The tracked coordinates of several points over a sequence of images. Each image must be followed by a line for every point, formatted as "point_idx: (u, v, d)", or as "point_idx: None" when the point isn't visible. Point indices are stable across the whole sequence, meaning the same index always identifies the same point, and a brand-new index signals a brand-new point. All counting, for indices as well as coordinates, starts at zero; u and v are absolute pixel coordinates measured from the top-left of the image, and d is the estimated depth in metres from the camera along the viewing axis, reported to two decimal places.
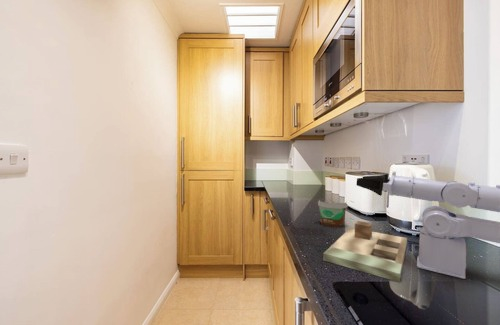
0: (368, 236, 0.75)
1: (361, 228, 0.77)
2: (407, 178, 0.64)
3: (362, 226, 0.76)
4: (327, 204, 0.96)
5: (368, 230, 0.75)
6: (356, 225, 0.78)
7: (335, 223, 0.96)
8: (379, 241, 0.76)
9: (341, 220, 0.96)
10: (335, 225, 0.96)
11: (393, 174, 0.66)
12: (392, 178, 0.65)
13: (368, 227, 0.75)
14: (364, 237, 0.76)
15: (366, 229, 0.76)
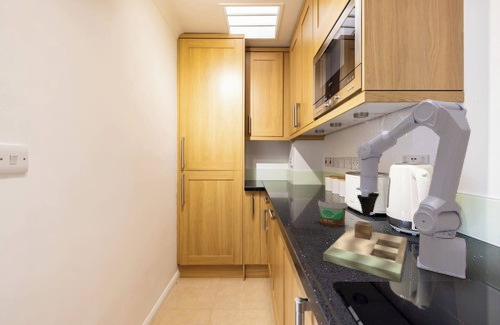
0: (368, 236, 0.75)
1: (361, 228, 0.77)
2: (360, 180, 0.84)
3: (362, 226, 0.76)
4: (327, 204, 0.96)
5: (368, 230, 0.75)
6: (356, 225, 0.78)
7: (335, 223, 0.96)
8: (379, 241, 0.76)
9: (341, 220, 0.96)
10: (335, 225, 0.96)
11: (358, 189, 0.85)
12: (360, 189, 0.83)
13: (368, 227, 0.75)
14: (364, 237, 0.76)
15: (366, 229, 0.76)
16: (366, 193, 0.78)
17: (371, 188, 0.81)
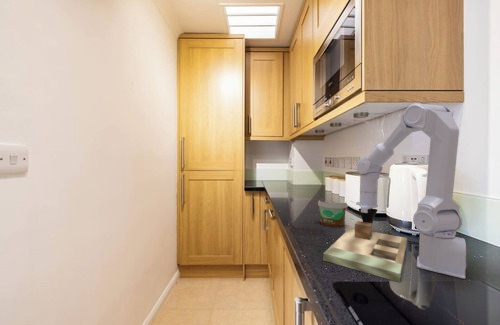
0: (368, 236, 0.75)
1: (361, 228, 0.77)
2: (360, 195, 0.85)
3: (362, 226, 0.76)
4: (327, 204, 0.96)
5: (368, 230, 0.75)
6: (356, 225, 0.78)
7: (335, 223, 0.96)
8: (379, 241, 0.76)
9: (341, 220, 0.96)
10: (335, 225, 0.96)
11: (358, 203, 0.85)
12: (359, 205, 0.83)
13: (368, 227, 0.75)
14: (364, 237, 0.76)
15: (366, 229, 0.76)
16: (366, 209, 0.78)
17: (371, 204, 0.81)
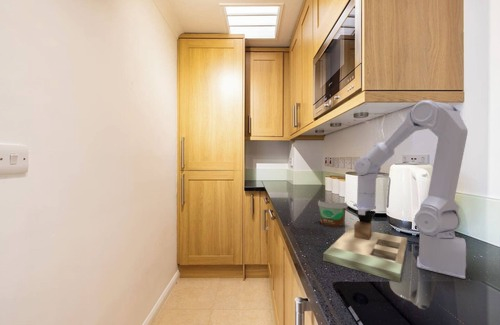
0: (368, 236, 0.75)
1: (361, 228, 0.76)
2: (357, 196, 0.81)
3: (362, 226, 0.76)
4: (327, 204, 0.96)
5: (368, 230, 0.75)
6: (356, 225, 0.77)
7: (335, 223, 0.96)
8: (379, 241, 0.76)
9: (341, 220, 0.96)
10: (335, 225, 0.96)
11: (355, 205, 0.82)
12: (357, 206, 0.80)
13: (368, 227, 0.75)
14: (364, 237, 0.76)
15: (366, 229, 0.75)
16: (363, 211, 0.75)
17: (368, 205, 0.78)
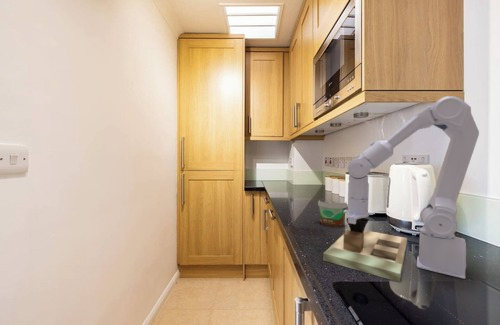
0: (359, 248, 0.65)
1: (351, 239, 0.66)
2: (348, 201, 0.71)
3: (352, 237, 0.66)
4: (327, 204, 0.96)
5: (359, 241, 0.65)
6: (345, 235, 0.67)
7: (335, 223, 0.96)
8: (379, 241, 0.76)
9: (341, 220, 0.96)
10: (335, 225, 0.96)
11: (345, 212, 0.72)
12: (347, 213, 0.70)
13: (359, 238, 0.65)
14: (354, 250, 0.66)
15: (356, 240, 0.65)
16: (353, 220, 0.65)
17: (360, 212, 0.68)
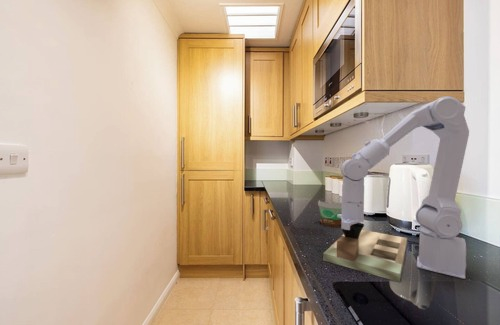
0: (353, 257, 0.60)
1: (344, 246, 0.61)
2: (342, 205, 0.66)
3: (346, 244, 0.61)
4: (327, 204, 0.96)
5: (353, 249, 0.60)
6: (338, 242, 0.62)
7: (335, 223, 0.96)
8: (379, 241, 0.76)
9: (341, 220, 0.96)
10: (335, 225, 0.96)
11: (339, 216, 0.66)
12: (341, 218, 0.64)
13: (353, 245, 0.60)
14: (348, 258, 0.60)
15: (351, 247, 0.60)
16: (347, 225, 0.59)
17: (355, 217, 0.63)
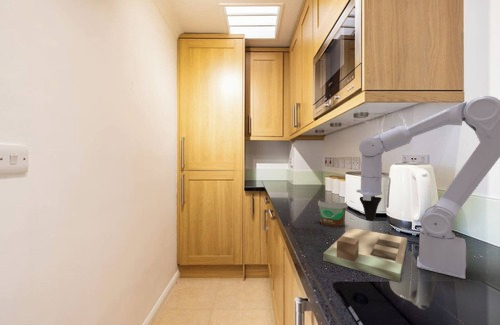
0: (353, 257, 0.60)
1: (344, 246, 0.61)
2: (361, 180, 0.72)
3: (346, 244, 0.61)
4: (327, 204, 0.96)
5: (353, 249, 0.60)
6: (338, 242, 0.62)
7: (335, 223, 0.96)
8: (379, 241, 0.76)
9: (341, 220, 0.96)
10: (335, 225, 0.96)
11: (358, 191, 0.73)
12: (361, 192, 0.71)
13: (353, 245, 0.60)
14: (348, 258, 0.60)
15: (351, 247, 0.60)
16: (369, 196, 0.66)
17: (374, 190, 0.69)
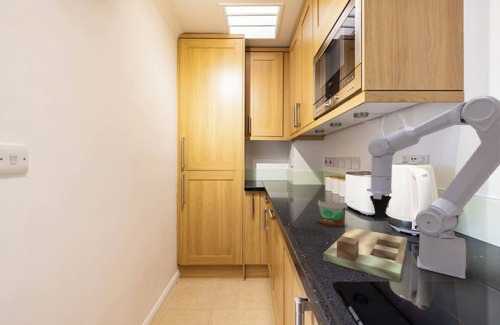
0: (353, 257, 0.60)
1: (344, 246, 0.61)
2: (371, 180, 0.75)
3: (346, 244, 0.61)
4: (327, 204, 0.96)
5: (353, 249, 0.60)
6: (338, 242, 0.62)
7: (335, 223, 0.96)
8: (379, 241, 0.76)
9: (341, 220, 0.96)
10: (335, 225, 0.96)
11: (369, 190, 0.75)
12: (371, 191, 0.73)
13: (353, 245, 0.60)
14: (348, 258, 0.60)
15: (351, 247, 0.60)
16: (379, 195, 0.68)
17: (384, 189, 0.71)
